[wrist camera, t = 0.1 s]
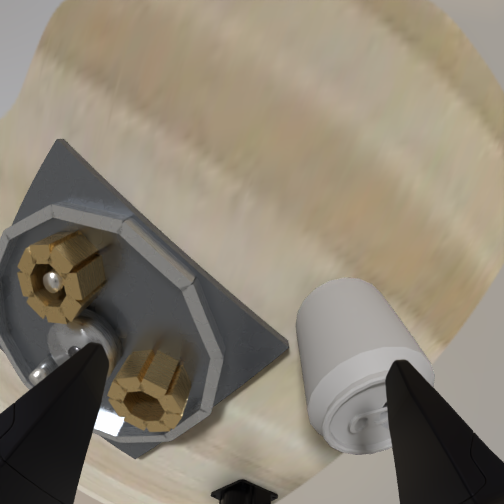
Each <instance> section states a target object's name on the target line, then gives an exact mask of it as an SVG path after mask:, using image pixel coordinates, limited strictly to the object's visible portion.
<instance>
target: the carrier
mask: <svg viewBox="0 0 504 504" xmlns="http://www.w3.org/2000/svg"><path fill="white" fill-rule="evenodd" d="M68 231H77V235H79V234H81V233H82V234H83V235H84V236H85V237H86V238H87V239H88V240H89V241H90V242H91V243H92V244H93V245H94V246H95V247H96V248H97V249H98V252H97V253H96V255H95V256H102V260H103V266H104V272H105V277H106V280H105V281H104V282H102V283H103V284H104V285H105V286H104V287H103V288H102V290H101V291H100V293H99V294H98V296H97V297H96V298H95V300H94V301H93V302H92V303H91V304H90V305H89V306H88V307H87V308H86V309H89V310H92V311H94V312H96V313H98V314H99V315H101V316H102V317H103V318H105V319H106V320H107V321H108V322H109V323H110V324H111V326H112V327H113V328H114V330H115V331H116V333H117V335H118V337H119V339H120V342H121V346H122V355H121V358H120V361H119V362H118V364H117V365H116V367H115V368H114V370H113V372H112V373H111V375H110V376H109V378H108V379H107V380H106V383H105V388H104V393H103V397H102V402H101V406H100V410H99V413H98V416H97V420H96V423H95V426H94V429H93V433H95V434H97V435H100V436H101V437H102V438H104V439H105V440H107V441H108V442H110V443H111V444H112V445H114V446H115V447H117V448H118V449H120V450H121V451H123V452H125V453H126V454H128V455H129V456H131V457H132V458H134V459H136V458H138V457H139V456H141V455H143V454H144V453H146V452H147V451H149V450H151V449H152V448H154V447H155V446H157V445H158V444H160V443H161V442H167V441H172V440H173V439H175V438H176V437H178V436H180V435H181V434H183V433H184V432H186V431H187V430H189V429H190V428H191V427H193V426H194V425H196V424H197V423H199V422H200V421H202V420H203V419H205V418H206V417H207V416H209V415H210V414H211V411H212V407H213V406H215V405H216V404H217V403H219V402H220V401H222V400H223V399H224V398H226V397H227V396H228V395H230V394H231V393H232V392H234V391H235V390H236V389H238V388H239V387H240V386H241V385H243V384H244V383H245V382H247V381H248V380H249V379H251V378H252V377H253V376H254V375H256V374H257V373H258V372H259V371H261V370H262V369H263V368H264V367H266V366H267V365H268V364H269V363H271V362H272V361H273V360H274V359H276V358H277V357H278V356H279V355H281V354H282V353H283V352H284V351H285V350H287V349H288V348H289V343H288V340H287V339H285V338H284V337H283V336H282V335H280V334H279V333H278V332H277V331H276V330H274V329H273V328H272V327H271V326H269V325H268V324H267V323H266V322H265V321H263V320H262V319H261V318H260V317H259V316H257V315H256V314H255V313H254V312H253V311H252V310H250V309H249V308H248V307H247V306H246V305H244V304H243V303H242V302H241V301H240V300H239V299H237V298H236V297H235V296H234V295H233V294H231V293H230V292H229V291H228V290H227V289H226V288H224V287H223V286H222V285H221V284H220V283H219V282H218V281H216V280H215V279H214V278H213V277H212V276H211V275H209V274H208V273H207V272H206V271H205V270H204V269H203V268H201V267H200V266H199V265H198V264H197V263H196V262H195V261H193V260H192V259H191V258H190V257H189V256H188V255H187V254H186V253H184V252H183V251H182V250H181V249H180V248H179V247H178V246H177V245H175V244H174V243H173V242H172V241H171V240H170V239H169V238H168V237H167V236H165V235H164V234H163V233H162V232H161V231H160V230H159V229H158V228H157V227H156V226H154V225H153V224H152V223H151V222H150V221H149V220H148V219H147V218H146V217H145V216H144V215H142V214H141V213H140V212H139V211H138V210H137V209H136V208H135V207H134V206H133V205H132V204H131V203H130V202H128V201H127V200H126V199H125V198H124V197H123V196H122V195H121V194H120V193H119V192H118V191H117V190H116V189H115V188H114V187H113V186H112V185H110V184H109V183H108V182H107V181H106V180H105V179H104V178H103V177H102V176H101V175H100V174H99V173H98V172H97V171H96V170H95V169H94V168H93V167H92V166H91V165H90V164H89V163H88V162H87V161H86V160H84V159H83V158H82V157H81V156H80V155H79V154H78V153H77V152H76V151H75V150H74V149H73V148H72V147H71V146H70V145H69V144H68V143H67V142H66V141H65V140H64V139H57V140H56V141H55V143H54V145H53V146H52V148H51V150H50V151H49V153H48V155H47V156H46V158H45V160H44V162H43V164H42V165H41V167H40V169H39V171H38V173H37V174H36V176H35V178H34V180H33V182H32V184H31V186H30V188H29V190H28V192H27V194H26V196H25V198H24V200H23V202H22V204H21V206H20V208H19V210H18V213H17V215H16V217H15V219H14V221H13V224H12V226H10V227H9V228H7V229H5V230H4V231H3V234H2V236H1V239H0V349H1V350H2V351H3V352H4V353H5V354H6V356H7V357H8V359H9V361H10V363H11V364H12V366H13V368H14V369H15V371H16V373H17V374H18V376H19V377H20V379H21V381H22V382H23V384H24V385H25V386H26V387H27V388H28V389H31V388H33V387H34V386H35V385H36V384H38V383H39V382H40V381H41V380H43V379H44V378H45V377H46V376H48V375H49V374H50V373H51V372H52V371H54V370H55V369H56V368H57V367H59V366H58V365H57V363H56V362H55V360H54V359H53V357H52V355H51V353H50V350H49V347H48V340H47V338H48V332H49V330H50V328H51V327H52V326H53V325H54V324H55V323H51V322H48V320H47V317H45V318H44V319H42V318H41V317H40V316H39V315H38V314H37V313H36V312H35V311H34V310H33V309H32V308H31V306H30V305H29V304H28V303H27V300H28V297H25V296H23V294H22V290H21V286H20V282H19V278H18V274H17V272H19V271H21V270H20V269H19V268H18V267H17V266H18V264H19V262H20V259H21V257H22V255H23V253H24V251H25V248H27V247H29V245H32V244H34V243H36V242H38V241H40V240H42V239H44V238H46V237H48V236H51V235H53V234H55V233H57V232H68ZM43 284H44V286H45V288H46V289H47V290H48V291H49V292H51V293H56V292H57V291H59V290H60V289H61V288H63V287H64V284H63V279H62V277H61V276H60V275H59V274H58V273H57V271H56V270H55V269H53V270H51V271H50V272H48V273H46V274H45V275H44V277H43ZM148 349H152V350H153V352H154V354H155V355H156V353H157V351H158V350H159V351H161V352H163V353H165V354H166V355H168V356H170V357H172V358H174V359H176V360H178V361H179V362H178V364H177V366H180V365H183V366H184V368H185V370H186V372H187V374H188V376H189V378H190V380H191V390H190V393H189V396H188V400H187V403H186V406H185V409H184V413H183V416H182V418H181V420H180V421H179V423H178V424H177V425H176V427H175V428H174V429H172V428H171V429H170V431H166V432H149V430H148V429H147V427H146V429H145V430H144V431H143V430H141V429H139V428H137V427H135V426H133V425H131V424H129V423H128V422H126V421H124V419H125V417H119V416H118V414H117V413H116V411H115V410H114V408H113V407H112V405H111V404H110V402H109V401H108V400H109V398H110V397H109V396H107V395H108V392H109V390H110V387H111V384H112V382H113V380H114V378H115V377H116V375H117V373H118V372H119V370H120V369H121V367H122V365H123V364H124V362H125V361H126V359H127V357H128V356H129V355H131V354H132V353H133V352H136V351H142V350H148Z"/></svg>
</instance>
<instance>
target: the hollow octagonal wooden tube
mask: <svg viewBox="0 0 504 504" xmlns="http://www.w3.org/2000/svg"><path fill="white" fill-rule="evenodd" d="M178 362H179V361H178V360H176V359H174V358H172V357H170V356H168V355H166V354H165V353H163V352H161V351H159V350H158V351H157V353H156V355H155V354H154V352H153V350H152V349H148V350H142V351H136V352H133V353H132V354H131V355H129V356H128V357H127V359H126V361H125V362H124V364H123V365H122V367H121V369H120V370H119V372H118V373H117V375H116V377H115V378H114V380H113V382H112V384H111V387H110V390H109V392H108V395H107V396H109V397H110V398H109V400H108V401H109V402H110V404H111V405H112V407H113V408H114V410H115V411H116V413H117V414H118V416H119V417H125V419H124V421H126V422H128V423H129V424H131V425H133V426H135V427H137V428H139V429H141V430H143V431H144V430H145V429H146V427H147V429H148V430H149V432H166V431H170V429H171V428H172V429H174V428H175V427H176V425H177V424H178V423H179V421H180V420H181V418H182V416H183V413H184V409H185V406H186V403H187V400H188V396H189V393H190V390H191V380H190V378H189V376H188V374H187V372H186V370H185V368H184V366H183V365H180V366H177V364H178Z"/></svg>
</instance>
